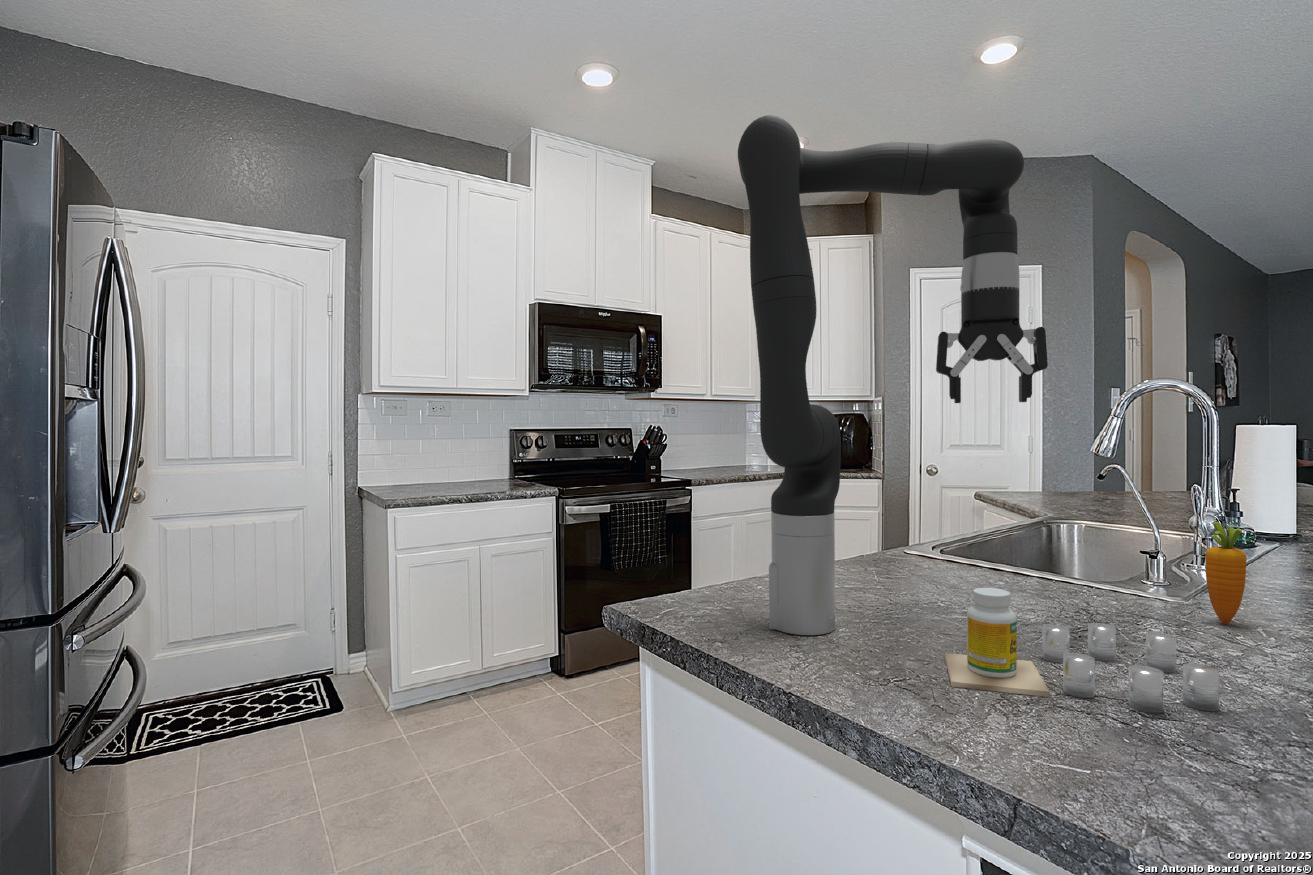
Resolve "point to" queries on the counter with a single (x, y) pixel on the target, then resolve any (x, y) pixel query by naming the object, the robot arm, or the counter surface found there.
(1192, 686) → the spacer posts
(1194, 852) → the counter surface
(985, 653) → the supplement bottle
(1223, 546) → the carrot
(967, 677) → the pad
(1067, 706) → the counter surface
